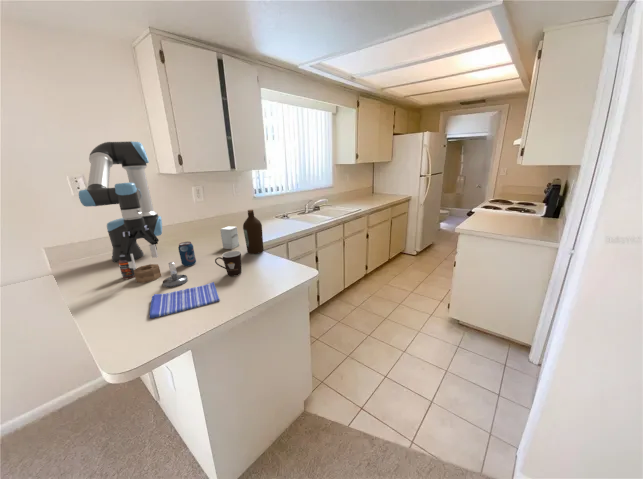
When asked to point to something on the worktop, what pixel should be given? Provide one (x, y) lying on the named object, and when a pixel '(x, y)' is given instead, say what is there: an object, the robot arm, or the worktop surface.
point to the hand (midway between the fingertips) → (144, 262)
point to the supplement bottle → (125, 268)
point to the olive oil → (253, 234)
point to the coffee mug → (231, 262)
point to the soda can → (187, 254)
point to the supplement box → (229, 237)
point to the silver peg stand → (174, 277)
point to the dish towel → (183, 300)
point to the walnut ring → (147, 273)
